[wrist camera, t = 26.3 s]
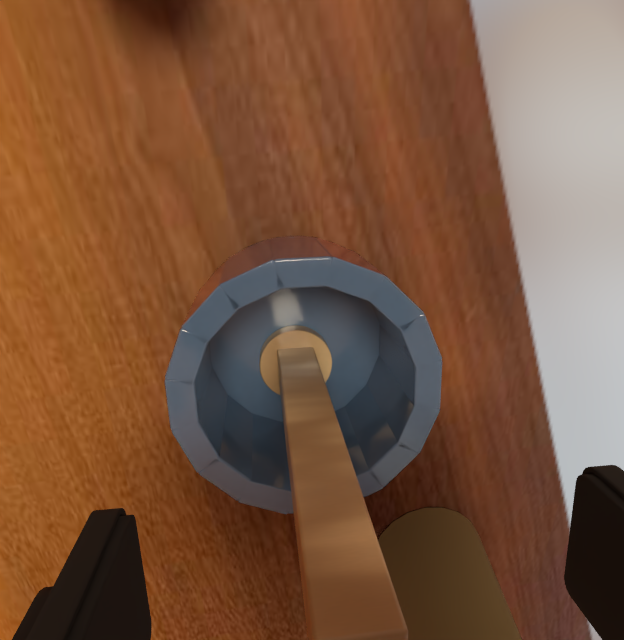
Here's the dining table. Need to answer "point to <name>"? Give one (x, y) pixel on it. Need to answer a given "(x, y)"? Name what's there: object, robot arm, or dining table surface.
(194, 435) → the holder
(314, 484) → the stick
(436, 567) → the pepper shaker
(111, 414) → the dining table surface
